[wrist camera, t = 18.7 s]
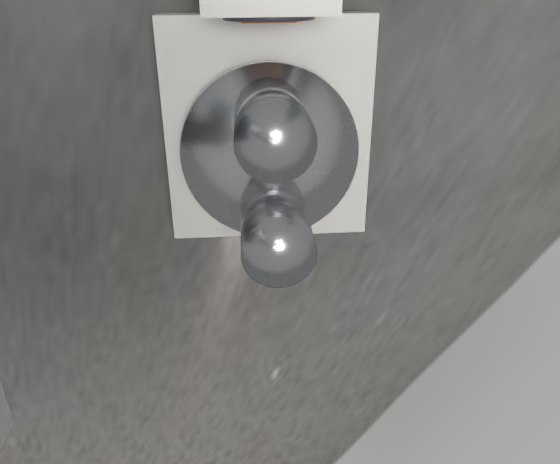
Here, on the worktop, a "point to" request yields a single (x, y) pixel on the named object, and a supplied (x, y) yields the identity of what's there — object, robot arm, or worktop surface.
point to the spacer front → (273, 132)
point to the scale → (261, 47)
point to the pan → (220, 143)
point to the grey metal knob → (276, 234)
